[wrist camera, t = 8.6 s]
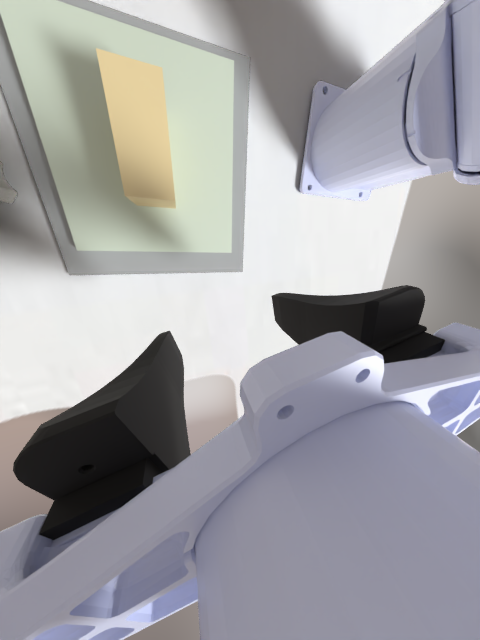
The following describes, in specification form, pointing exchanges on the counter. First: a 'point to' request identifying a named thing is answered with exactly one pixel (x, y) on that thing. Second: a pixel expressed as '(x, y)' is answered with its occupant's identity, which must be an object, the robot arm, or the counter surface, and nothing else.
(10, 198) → the egg carton
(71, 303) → the counter surface
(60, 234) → the mat
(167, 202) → the lid
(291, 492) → the robot arm
